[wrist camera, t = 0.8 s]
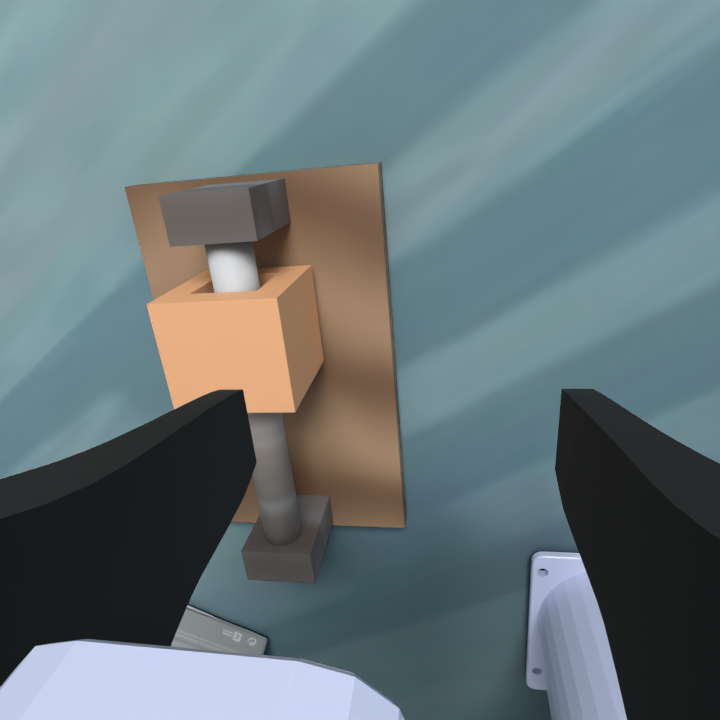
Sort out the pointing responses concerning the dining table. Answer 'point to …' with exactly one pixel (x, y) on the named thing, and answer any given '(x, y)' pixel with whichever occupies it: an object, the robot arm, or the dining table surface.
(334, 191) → the rail
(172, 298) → the slider
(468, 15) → the dining table surface
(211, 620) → the skincare box
